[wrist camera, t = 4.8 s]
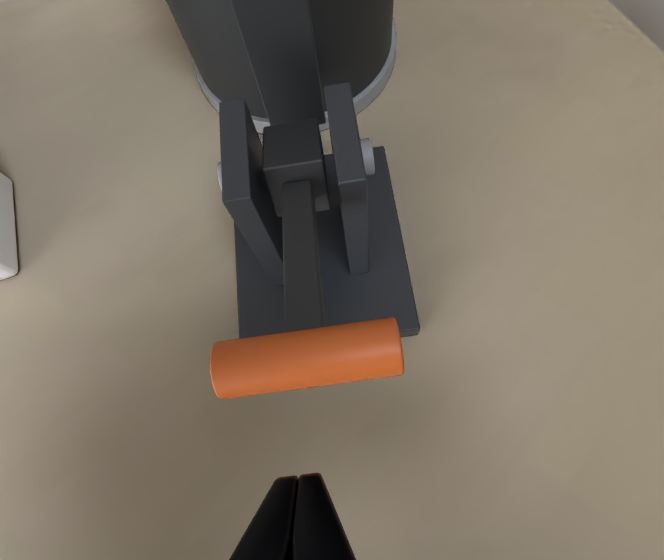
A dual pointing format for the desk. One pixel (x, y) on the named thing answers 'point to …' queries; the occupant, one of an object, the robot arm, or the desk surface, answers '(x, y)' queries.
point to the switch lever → (302, 291)
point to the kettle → (288, 53)
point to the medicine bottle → (7, 230)
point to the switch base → (333, 226)
